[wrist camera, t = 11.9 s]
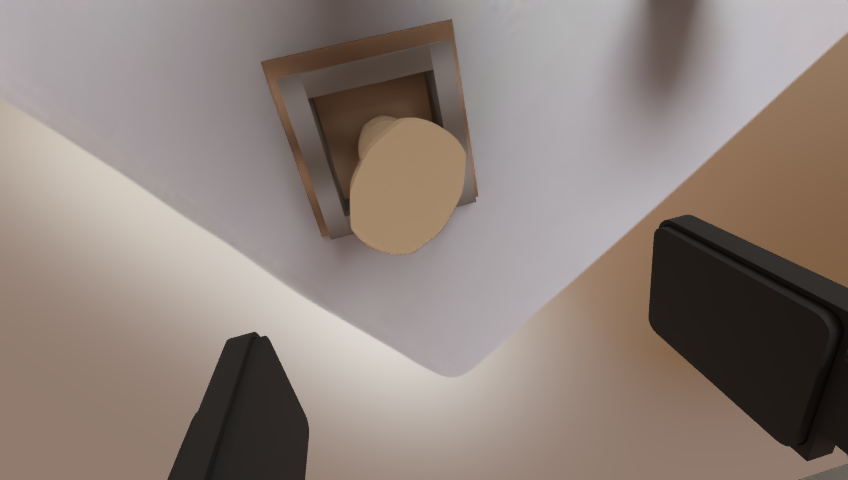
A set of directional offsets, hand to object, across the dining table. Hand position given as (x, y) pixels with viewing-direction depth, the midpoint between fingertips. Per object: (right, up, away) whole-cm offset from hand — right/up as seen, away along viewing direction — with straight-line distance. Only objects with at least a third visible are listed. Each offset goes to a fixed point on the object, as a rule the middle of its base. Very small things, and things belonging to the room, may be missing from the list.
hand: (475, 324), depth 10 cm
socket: (-5, +11, +23) cm, 26 cm away
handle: (-5, +10, +23) cm, 25 cm away
